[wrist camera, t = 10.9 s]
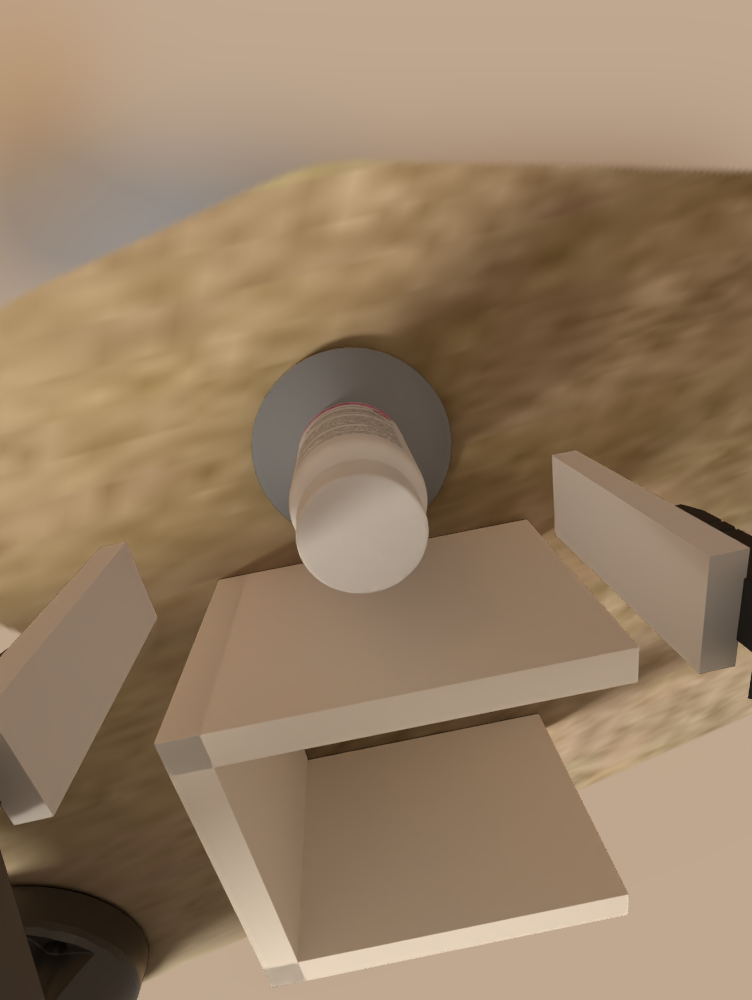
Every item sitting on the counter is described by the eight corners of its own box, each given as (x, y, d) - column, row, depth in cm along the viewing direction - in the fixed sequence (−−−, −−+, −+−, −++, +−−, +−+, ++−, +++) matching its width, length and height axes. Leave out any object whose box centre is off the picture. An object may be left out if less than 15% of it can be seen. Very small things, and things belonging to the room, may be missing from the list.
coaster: (281, 549, 25) (280, 557, 24) (229, 368, 21) (226, 370, 20) (457, 515, 25) (461, 521, 24) (435, 328, 21) (438, 329, 21)
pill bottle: (276, 444, 22) (245, 525, 14) (361, 377, 21) (380, 425, 13) (342, 520, 24) (348, 631, 16) (424, 461, 23) (473, 547, 15)
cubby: (289, 781, 31) (272, 987, 22) (218, 579, 25) (153, 744, 16) (539, 731, 31) (627, 914, 22) (526, 519, 25) (639, 647, 16)
